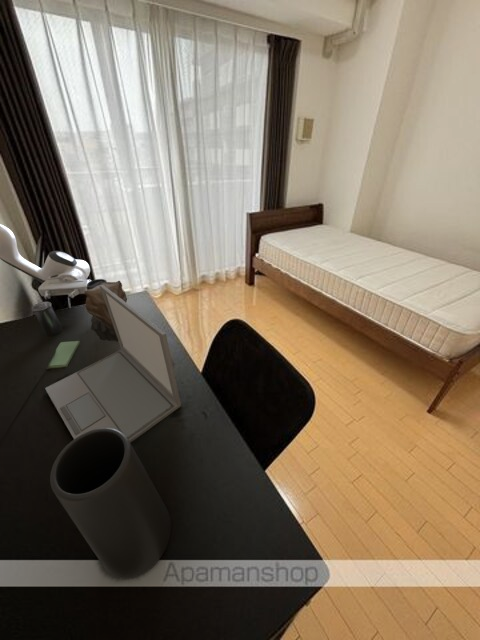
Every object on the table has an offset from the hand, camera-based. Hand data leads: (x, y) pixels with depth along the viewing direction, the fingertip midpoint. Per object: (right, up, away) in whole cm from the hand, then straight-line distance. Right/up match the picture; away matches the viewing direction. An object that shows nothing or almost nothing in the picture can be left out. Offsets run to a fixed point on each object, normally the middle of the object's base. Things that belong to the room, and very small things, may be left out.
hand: (58, 297), depth 118 cm
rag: (+12, -22, -16) cm, 30 cm away
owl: (+28, -15, -7) cm, 32 cm away
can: (+1, -14, -5) cm, 15 cm away
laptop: (+37, -33, -32) cm, 59 cm away
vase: (+55, -53, -60) cm, 97 cm away
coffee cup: (+18, -7, +5) cm, 20 cm away
